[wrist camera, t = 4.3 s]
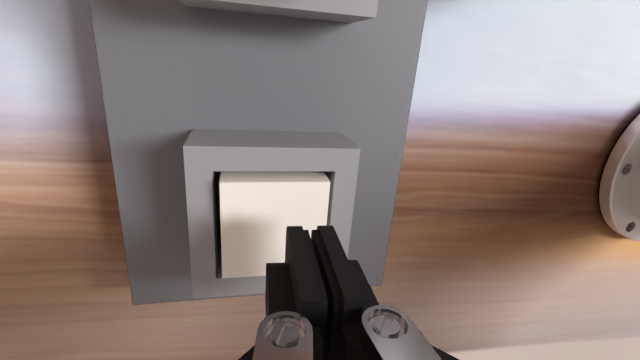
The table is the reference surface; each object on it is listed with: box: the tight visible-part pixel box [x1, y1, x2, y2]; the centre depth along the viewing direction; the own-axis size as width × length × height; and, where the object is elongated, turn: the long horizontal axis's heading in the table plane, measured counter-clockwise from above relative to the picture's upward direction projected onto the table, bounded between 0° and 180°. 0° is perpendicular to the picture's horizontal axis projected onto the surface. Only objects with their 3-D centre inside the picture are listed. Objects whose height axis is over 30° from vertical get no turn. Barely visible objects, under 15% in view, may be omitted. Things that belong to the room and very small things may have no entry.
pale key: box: [219, 171, 330, 279], centre depth 16 cm, size 4×4×3 cm
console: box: [89, 0, 428, 305], centre depth 15 cm, size 14×24×6 cm, turn 176°
